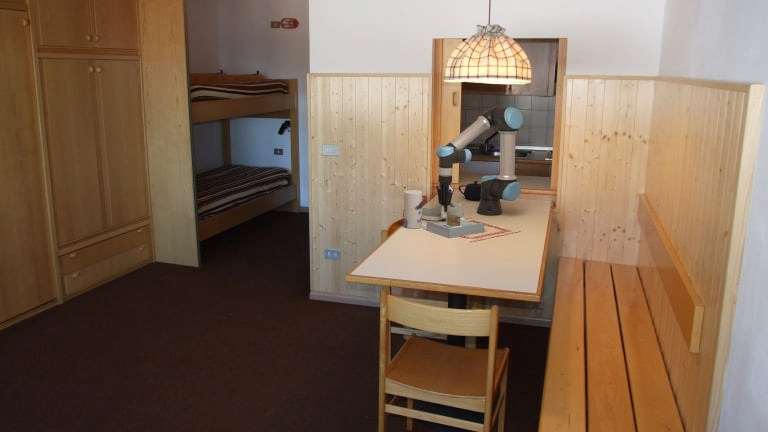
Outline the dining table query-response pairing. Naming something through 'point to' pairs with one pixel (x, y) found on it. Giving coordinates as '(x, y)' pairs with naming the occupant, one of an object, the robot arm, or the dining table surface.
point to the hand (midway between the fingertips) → (443, 217)
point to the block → (453, 220)
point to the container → (413, 209)
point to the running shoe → (435, 212)
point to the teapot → (472, 191)
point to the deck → (455, 228)
